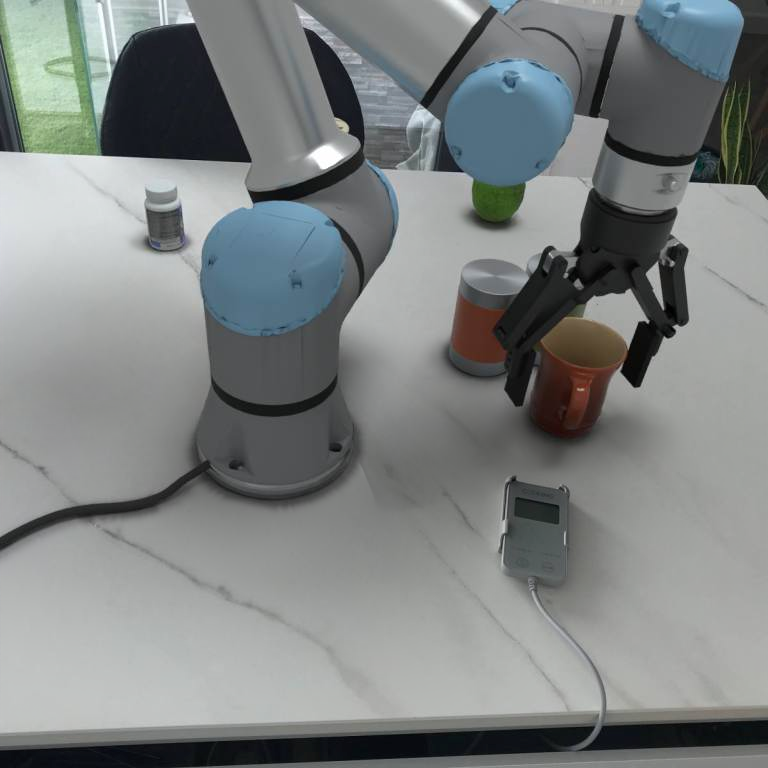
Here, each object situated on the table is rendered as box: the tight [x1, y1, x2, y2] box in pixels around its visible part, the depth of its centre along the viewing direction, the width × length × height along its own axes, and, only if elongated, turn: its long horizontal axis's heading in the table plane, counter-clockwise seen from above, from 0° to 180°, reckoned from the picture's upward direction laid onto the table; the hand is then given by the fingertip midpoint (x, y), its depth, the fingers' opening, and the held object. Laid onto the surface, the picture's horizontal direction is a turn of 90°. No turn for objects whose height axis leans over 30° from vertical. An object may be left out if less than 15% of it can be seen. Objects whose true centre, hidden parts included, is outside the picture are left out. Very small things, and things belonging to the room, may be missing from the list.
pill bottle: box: [143, 178, 186, 251], centre depth 103 cm, size 5×5×8 cm
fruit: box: [471, 178, 527, 223], centre depth 114 cm, size 8×8×12 cm
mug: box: [529, 317, 629, 438], centre depth 79 cm, size 12×9×10 cm
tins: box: [448, 252, 588, 377], centre depth 88 cm, size 16×8×11 cm, turn 108°
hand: (573, 388), depth 79 cm, fingers open, 13 cm apart
